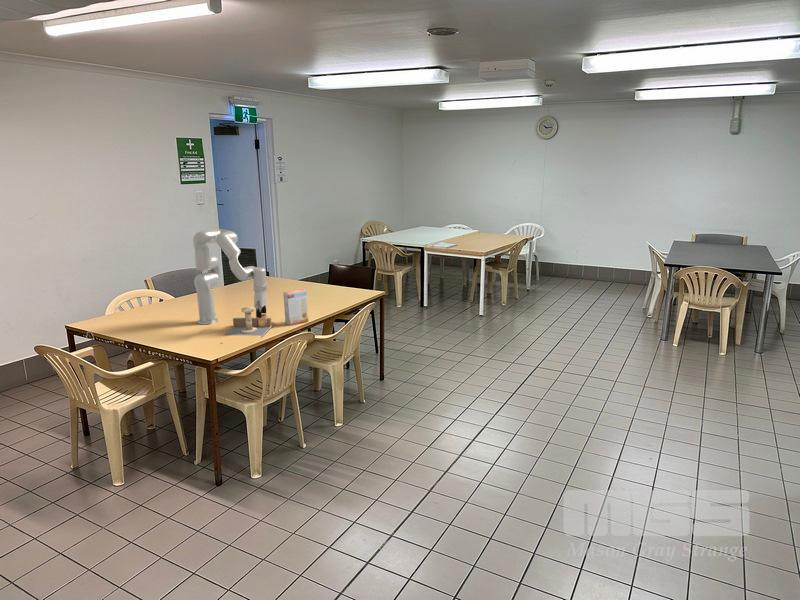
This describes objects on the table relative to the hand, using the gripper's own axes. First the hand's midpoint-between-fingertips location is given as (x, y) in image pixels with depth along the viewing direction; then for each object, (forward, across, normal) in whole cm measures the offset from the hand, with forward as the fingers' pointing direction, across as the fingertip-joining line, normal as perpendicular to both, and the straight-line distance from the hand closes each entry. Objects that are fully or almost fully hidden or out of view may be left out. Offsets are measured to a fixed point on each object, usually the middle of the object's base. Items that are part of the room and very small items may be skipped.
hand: (261, 315), depth 331 cm
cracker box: (+8, -13, +19) cm, 24 cm away
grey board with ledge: (+8, +9, -6) cm, 14 cm away
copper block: (+7, 0, +1) cm, 7 cm away
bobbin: (+7, +11, -4) cm, 14 cm away
